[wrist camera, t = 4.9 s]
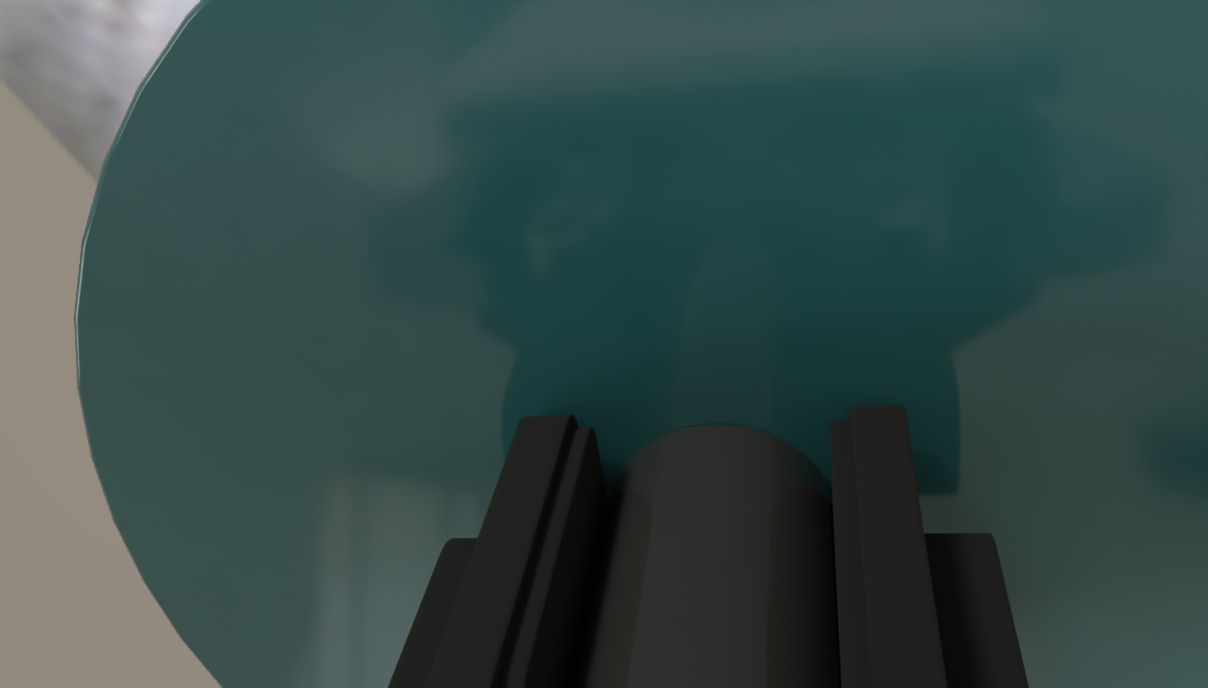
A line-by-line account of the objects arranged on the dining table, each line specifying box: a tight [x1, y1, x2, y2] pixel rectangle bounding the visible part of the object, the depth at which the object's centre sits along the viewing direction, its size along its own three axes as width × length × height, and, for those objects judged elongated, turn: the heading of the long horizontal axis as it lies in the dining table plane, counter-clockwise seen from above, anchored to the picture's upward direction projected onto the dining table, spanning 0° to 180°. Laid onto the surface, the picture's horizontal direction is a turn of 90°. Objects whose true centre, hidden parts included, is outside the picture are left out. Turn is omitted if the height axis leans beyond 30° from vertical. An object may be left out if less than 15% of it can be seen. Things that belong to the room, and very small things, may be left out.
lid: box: [74, 0, 1208, 688], centre depth 11 cm, size 14×14×7 cm
